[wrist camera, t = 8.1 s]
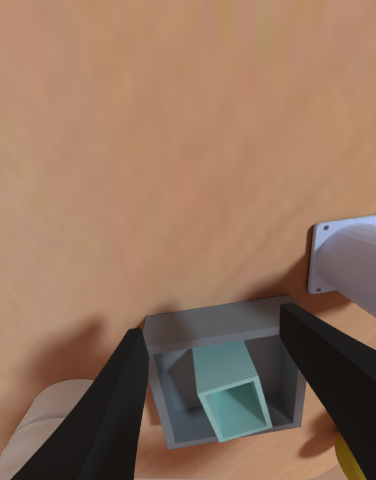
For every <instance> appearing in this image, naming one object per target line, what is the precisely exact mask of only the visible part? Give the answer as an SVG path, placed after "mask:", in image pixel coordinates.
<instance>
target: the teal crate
mask: <svg viewBox="0 0 376 480" xmlns="http://www.w3.org/2000/svg"><path fill="white" fill-rule="evenodd" d="M192 350H193V359H194V369H195V378H196V387H197V395H198V397H199V399H200V401H201V403H202V405H203V408H204V410H205V412H206V414H207V416H208V418H209V420H210V423H211V425H212V427H213V429H214V431H215V433H216V435H217V438H218V440H219V442H220V443H221V442H224V441H228V440H231V439H235V438H238V437H242V436H245V435H249V434H252V433H256V432H259V431H262V430H266V429H269V428H273V427H272V423H271V420H270V416H269V412H268V409H267V405H266V402H265V398H264V394H263V391H262V387H261V384H260V380H259V376H258V374H257V371H256V369H255V367H254V364H253V362H252V360H251V357H250V355H249V353H248V350H247V348H246V346H245V343H244V341H243V340H242V341H236V342H229V343H223V344H217V345H211V346H204V347H198V348H192Z"/></svg>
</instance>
